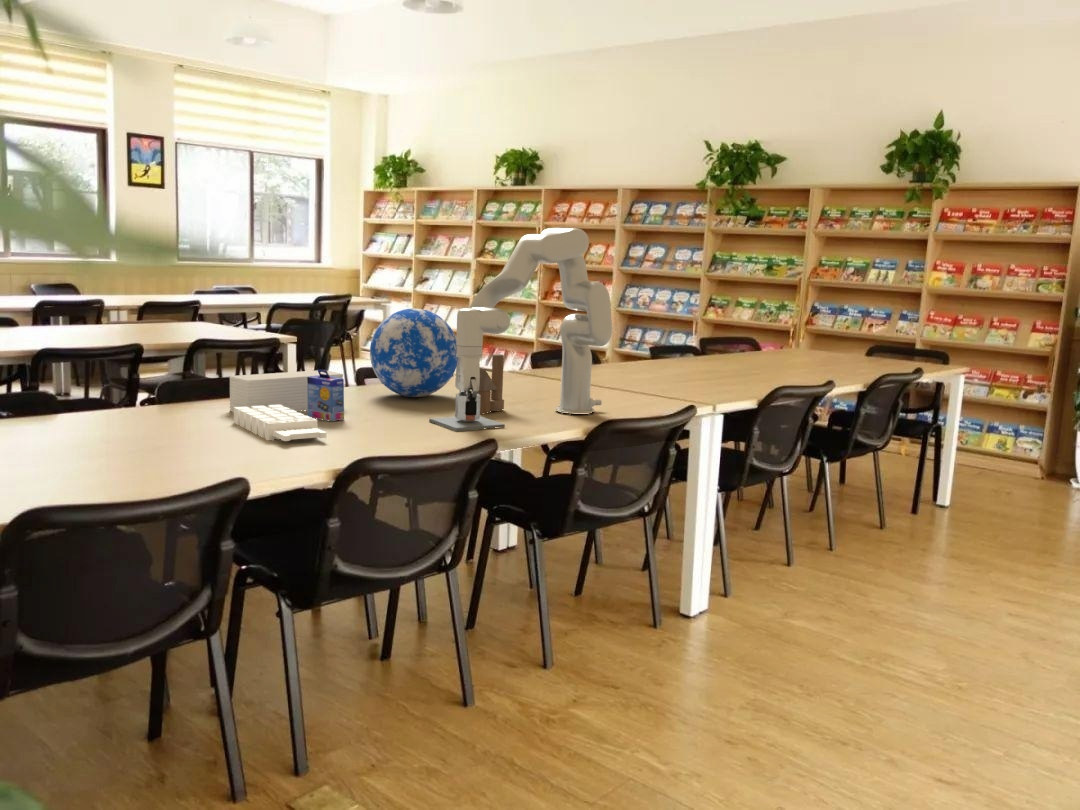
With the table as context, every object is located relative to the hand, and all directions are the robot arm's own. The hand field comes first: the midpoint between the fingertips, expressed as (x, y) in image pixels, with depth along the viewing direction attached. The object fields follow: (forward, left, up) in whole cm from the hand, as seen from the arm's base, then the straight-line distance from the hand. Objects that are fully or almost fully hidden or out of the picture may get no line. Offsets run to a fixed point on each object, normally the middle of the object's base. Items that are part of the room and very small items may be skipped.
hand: (467, 412), depth 274 cm
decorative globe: (-9, -52, -4) cm, 53 cm away
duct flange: (0, 0, -4) cm, 4 cm away
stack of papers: (+39, -42, -4) cm, 57 cm away
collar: (0, 0, -2) cm, 2 cm away
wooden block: (-18, -17, -4) cm, 25 cm away
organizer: (+53, -8, -4) cm, 53 cm away
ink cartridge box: (+34, -23, -4) cm, 41 cm away
